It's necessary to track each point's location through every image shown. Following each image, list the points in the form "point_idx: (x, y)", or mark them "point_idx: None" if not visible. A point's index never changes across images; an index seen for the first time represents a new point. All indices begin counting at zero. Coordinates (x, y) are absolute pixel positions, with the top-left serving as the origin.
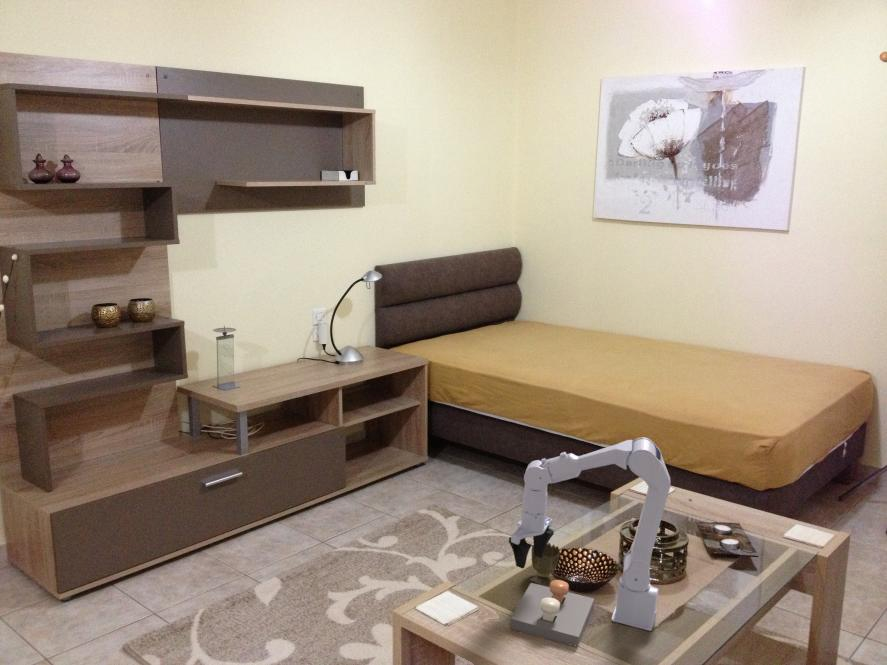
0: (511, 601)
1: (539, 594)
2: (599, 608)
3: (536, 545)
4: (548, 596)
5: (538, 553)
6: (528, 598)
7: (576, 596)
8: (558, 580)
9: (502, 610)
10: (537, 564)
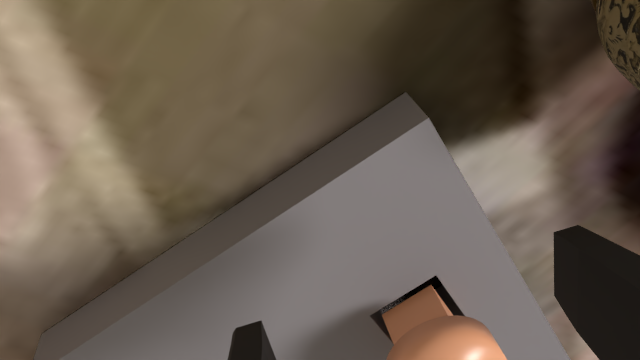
0: (218, 131)
1: (367, 248)
2: (563, 336)
3: (635, 323)
4: (396, 282)
5: (575, 299)
6: (271, 260)
7: (522, 326)
8: (492, 354)
9: (99, 189)
10: (621, 34)
